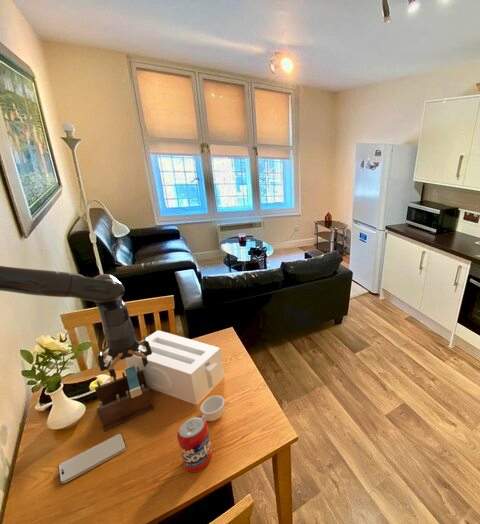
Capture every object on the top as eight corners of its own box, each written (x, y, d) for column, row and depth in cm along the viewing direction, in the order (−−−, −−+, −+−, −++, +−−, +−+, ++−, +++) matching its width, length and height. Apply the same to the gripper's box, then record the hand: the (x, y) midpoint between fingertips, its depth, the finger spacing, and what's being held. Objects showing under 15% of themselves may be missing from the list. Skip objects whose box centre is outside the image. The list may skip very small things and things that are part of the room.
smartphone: (126, 447, 90) (60, 483, 79) (127, 450, 90) (61, 486, 80) (121, 432, 95) (57, 464, 84) (121, 434, 95) (58, 466, 84)
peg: (131, 398, 97) (129, 391, 96) (126, 374, 107) (124, 368, 106) (142, 394, 99) (140, 387, 98) (136, 370, 109) (134, 364, 108)
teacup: (213, 403, 108) (211, 392, 106) (230, 409, 106) (229, 399, 104) (192, 425, 99) (190, 414, 97) (210, 433, 97) (208, 422, 95)
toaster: (130, 384, 114) (120, 353, 108) (164, 358, 128) (158, 330, 123) (202, 409, 106) (196, 378, 100) (230, 379, 120) (227, 349, 114)
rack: (104, 432, 95) (95, 407, 91) (101, 404, 105) (93, 381, 100) (154, 409, 104) (147, 386, 100) (147, 386, 113) (141, 363, 109)
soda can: (205, 443, 94) (199, 410, 88) (217, 459, 89) (211, 425, 84) (179, 461, 88) (171, 427, 82) (191, 479, 84) (183, 445, 78)
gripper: (143, 320, 102) (152, 356, 108) (90, 334, 93) (103, 373, 99) (147, 330, 97) (156, 367, 103) (91, 346, 88) (104, 386, 94)
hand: (130, 370), depth 101 cm, fingers open, 8 cm apart
